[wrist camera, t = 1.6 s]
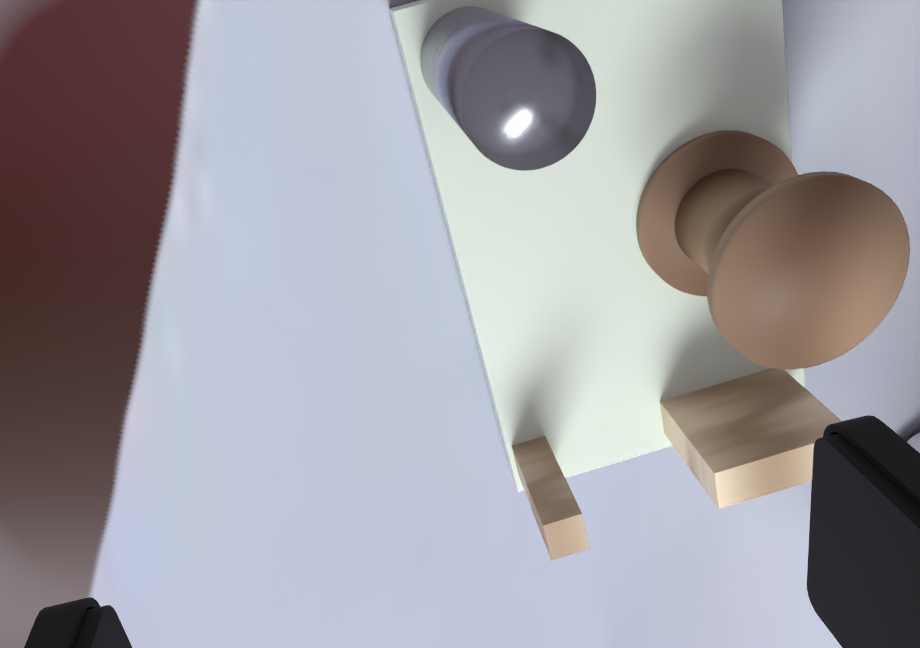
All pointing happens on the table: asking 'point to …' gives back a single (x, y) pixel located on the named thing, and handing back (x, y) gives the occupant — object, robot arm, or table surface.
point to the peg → (509, 86)
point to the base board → (598, 219)
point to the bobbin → (773, 247)
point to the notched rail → (700, 450)
